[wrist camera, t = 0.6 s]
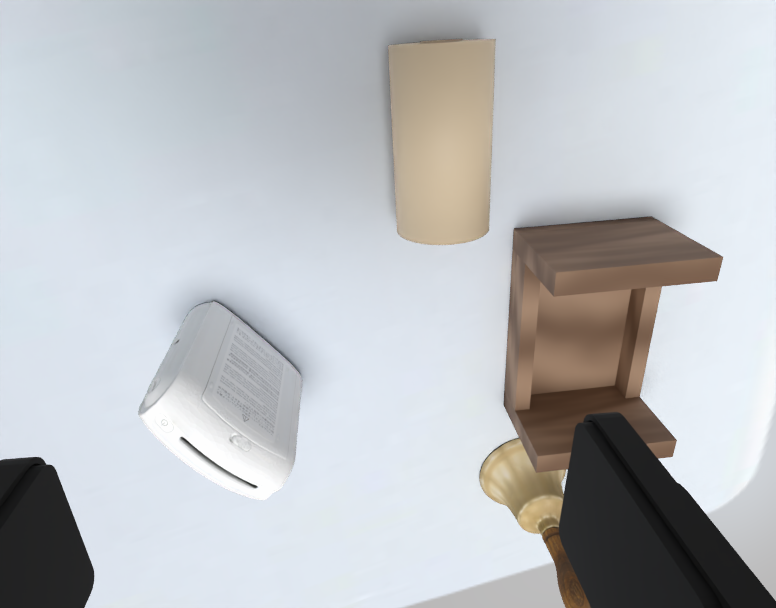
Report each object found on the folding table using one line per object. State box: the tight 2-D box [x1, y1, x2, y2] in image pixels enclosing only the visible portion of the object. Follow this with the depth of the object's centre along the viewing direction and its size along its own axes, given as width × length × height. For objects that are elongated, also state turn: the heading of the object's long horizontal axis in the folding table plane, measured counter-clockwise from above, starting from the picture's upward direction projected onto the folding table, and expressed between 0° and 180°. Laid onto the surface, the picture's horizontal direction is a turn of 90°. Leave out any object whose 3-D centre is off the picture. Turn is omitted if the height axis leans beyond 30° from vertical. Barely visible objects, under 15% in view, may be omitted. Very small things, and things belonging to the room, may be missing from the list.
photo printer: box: [138, 301, 302, 500], centre depth 35 cm, size 10×4×12 cm, turn 40°
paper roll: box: [388, 39, 496, 245], centre depth 32 cm, size 11×6×6 cm, turn 3°
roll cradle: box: [504, 217, 723, 473], centre depth 39 cm, size 16×10×8 cm, turn 3°
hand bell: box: [480, 438, 591, 608], centre depth 43 cm, size 8×8×16 cm
